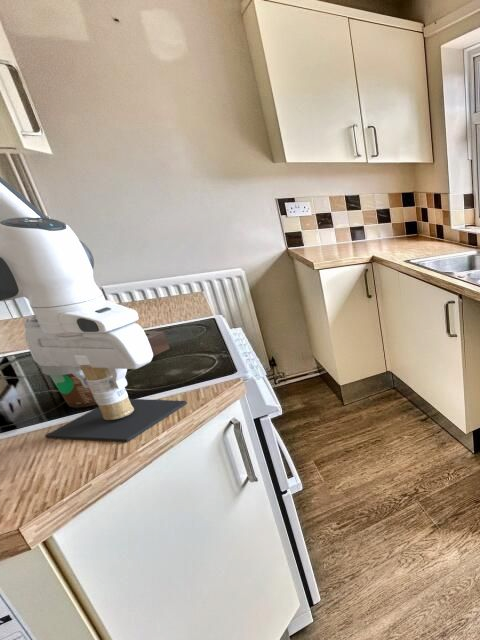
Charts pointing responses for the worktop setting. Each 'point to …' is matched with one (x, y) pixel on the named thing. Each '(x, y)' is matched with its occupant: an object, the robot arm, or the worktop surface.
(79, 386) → the food container
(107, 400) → the sprinkles bottle
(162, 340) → the box
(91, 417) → the rubber mat
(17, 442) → the worktop surface
